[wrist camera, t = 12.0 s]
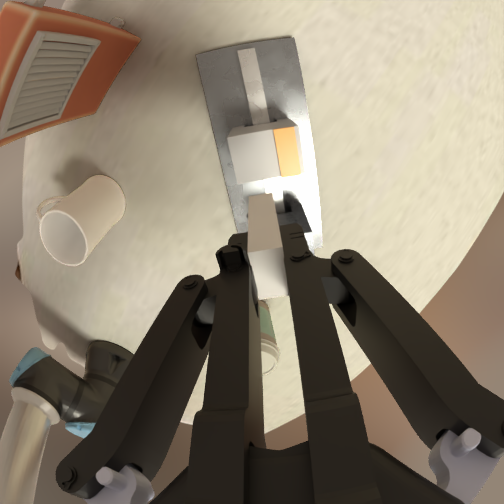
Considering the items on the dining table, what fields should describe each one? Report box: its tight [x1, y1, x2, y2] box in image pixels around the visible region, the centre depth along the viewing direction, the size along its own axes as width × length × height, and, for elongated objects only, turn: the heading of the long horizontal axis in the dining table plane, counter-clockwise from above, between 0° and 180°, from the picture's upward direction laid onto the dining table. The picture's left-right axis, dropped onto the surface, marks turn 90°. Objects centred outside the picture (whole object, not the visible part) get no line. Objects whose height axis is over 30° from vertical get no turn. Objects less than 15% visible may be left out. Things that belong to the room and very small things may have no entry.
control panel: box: [0, 0, 141, 147], centre depth 19 cm, size 21×7×15 cm
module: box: [227, 118, 305, 184], centre depth 30 cm, size 5×7×8 cm
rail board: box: [196, 38, 323, 255], centre depth 31 cm, size 30×12×9 cm, turn 11°
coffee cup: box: [258, 300, 280, 376], centre depth 45 cm, size 8×8×12 cm
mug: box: [36, 175, 126, 266], centre depth 33 cm, size 12×8×12 cm
